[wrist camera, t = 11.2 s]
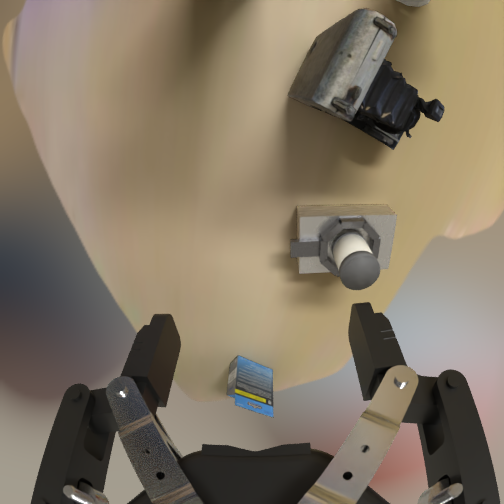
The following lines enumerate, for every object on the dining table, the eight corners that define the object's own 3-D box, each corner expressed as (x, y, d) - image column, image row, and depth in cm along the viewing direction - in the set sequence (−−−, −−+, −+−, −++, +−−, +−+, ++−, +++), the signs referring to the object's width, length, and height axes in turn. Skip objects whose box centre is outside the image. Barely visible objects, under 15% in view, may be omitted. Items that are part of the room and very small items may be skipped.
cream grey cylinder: (323, 252, 42) (332, 281, 36) (343, 222, 40) (356, 248, 34) (351, 266, 43) (364, 295, 37) (371, 238, 41) (388, 264, 35)
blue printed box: (228, 363, 61) (223, 412, 51) (238, 354, 60) (233, 404, 49) (263, 377, 64) (262, 425, 53) (273, 369, 62) (274, 417, 51)
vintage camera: (380, 148, 39) (461, 197, 21) (283, 97, 36) (313, 102, 18) (408, 93, 34) (503, 110, 17) (313, 36, 31) (367, -4, 14)
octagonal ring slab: (287, 206, 43) (290, 222, 39) (387, 204, 42) (400, 219, 38) (288, 259, 48) (291, 280, 43) (380, 255, 47) (391, 274, 42)
